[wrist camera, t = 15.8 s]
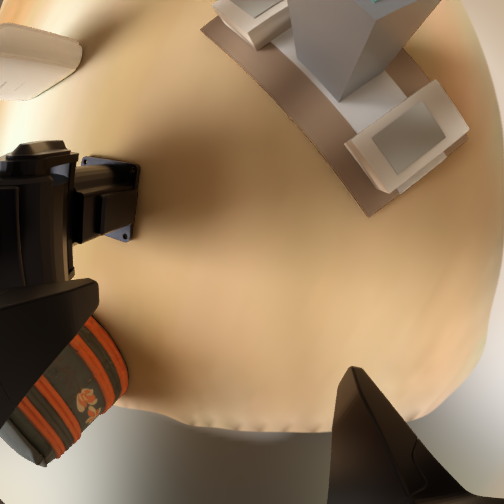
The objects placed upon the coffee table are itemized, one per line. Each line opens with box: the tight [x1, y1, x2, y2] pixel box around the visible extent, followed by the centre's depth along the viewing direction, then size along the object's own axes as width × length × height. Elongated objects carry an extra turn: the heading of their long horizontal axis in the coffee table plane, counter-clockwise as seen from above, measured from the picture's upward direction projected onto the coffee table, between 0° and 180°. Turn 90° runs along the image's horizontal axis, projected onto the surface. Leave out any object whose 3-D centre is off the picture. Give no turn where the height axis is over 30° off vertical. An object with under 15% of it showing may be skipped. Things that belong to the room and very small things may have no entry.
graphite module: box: [287, 0, 441, 103], centre depth 9 cm, size 4×4×11 cm
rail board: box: [200, 0, 470, 217], centre depth 13 cm, size 18×10×4 cm, turn 41°
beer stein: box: [0, 316, 128, 467], centre depth 20 cm, size 19×15×20 cm
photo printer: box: [0, 23, 82, 101], centre depth 13 cm, size 10×4×12 cm, turn 94°
